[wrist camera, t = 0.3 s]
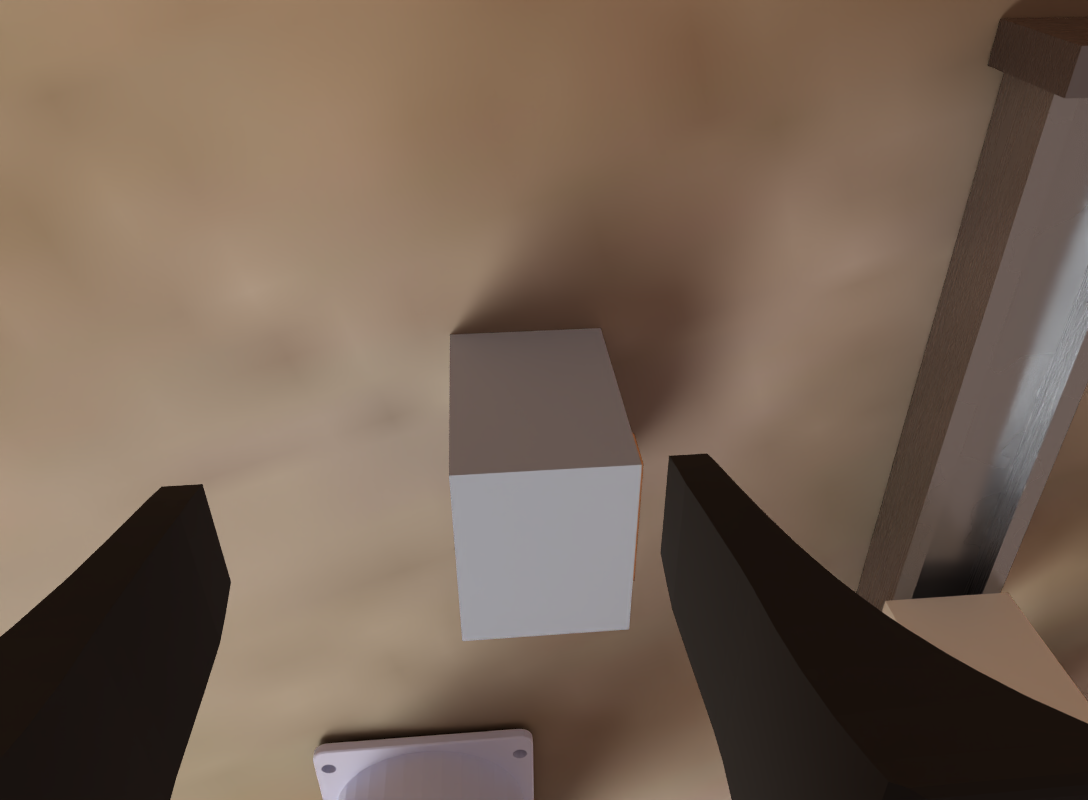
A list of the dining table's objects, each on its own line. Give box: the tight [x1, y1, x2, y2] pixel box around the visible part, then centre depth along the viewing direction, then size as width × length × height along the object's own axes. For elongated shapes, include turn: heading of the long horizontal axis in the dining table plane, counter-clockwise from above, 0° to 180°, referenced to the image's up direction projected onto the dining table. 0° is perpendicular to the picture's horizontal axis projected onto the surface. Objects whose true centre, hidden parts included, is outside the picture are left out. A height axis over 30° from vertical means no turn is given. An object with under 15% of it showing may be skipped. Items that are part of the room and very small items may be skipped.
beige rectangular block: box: [882, 592, 1088, 723], centre depth 25 cm, size 4×4×6 cm
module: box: [449, 328, 643, 641], centre depth 21 cm, size 5×4×6 cm
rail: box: [857, 17, 1088, 611], centre depth 24 cm, size 21×4×3 cm, turn 0°
